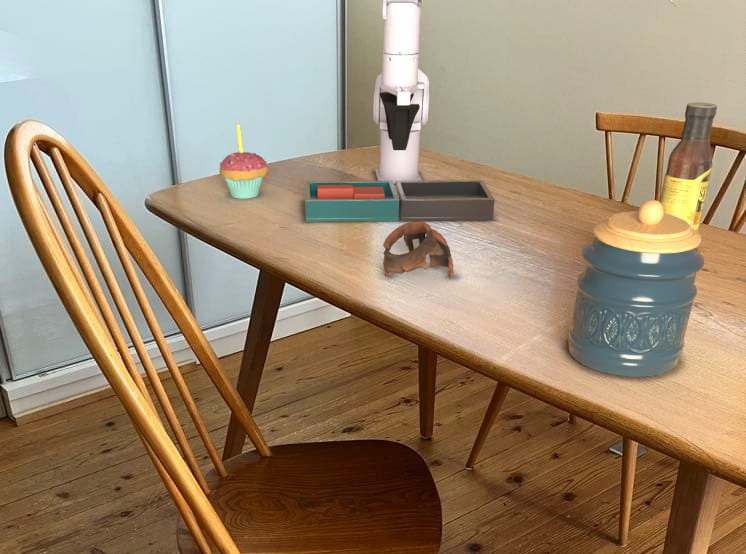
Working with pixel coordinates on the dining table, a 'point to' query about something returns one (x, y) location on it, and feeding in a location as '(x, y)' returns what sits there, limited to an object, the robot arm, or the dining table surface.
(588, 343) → the canister
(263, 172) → the cupcake
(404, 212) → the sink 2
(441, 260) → the brown openwork arch
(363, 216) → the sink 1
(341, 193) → the brush
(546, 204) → the dining table surface
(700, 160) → the sauce bottle
